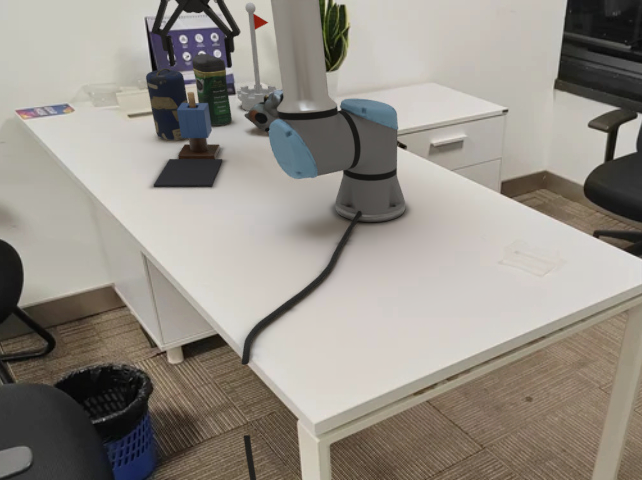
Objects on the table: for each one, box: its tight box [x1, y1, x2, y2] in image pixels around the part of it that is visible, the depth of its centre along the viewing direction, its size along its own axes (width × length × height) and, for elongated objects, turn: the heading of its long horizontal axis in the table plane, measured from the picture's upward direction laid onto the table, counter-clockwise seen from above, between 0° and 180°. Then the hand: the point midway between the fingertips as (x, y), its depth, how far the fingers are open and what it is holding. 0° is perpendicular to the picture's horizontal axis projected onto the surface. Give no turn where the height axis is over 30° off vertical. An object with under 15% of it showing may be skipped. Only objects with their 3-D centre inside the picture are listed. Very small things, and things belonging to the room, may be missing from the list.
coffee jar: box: [191, 53, 233, 126], centre depth 198 cm, size 10×8×19 cm
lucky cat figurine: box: [244, 88, 284, 133], centre depth 196 cm, size 15×12×14 cm
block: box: [177, 102, 213, 139], centre depth 174 cm, size 6×6×7 cm
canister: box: [145, 68, 189, 141], centre depth 185 cm, size 10×10×18 cm
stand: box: [177, 91, 221, 159], centre depth 175 cm, size 9×9×16 cm
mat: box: [153, 158, 223, 188], centre depth 167 cm, size 18×13×1 cm
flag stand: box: [236, 2, 280, 112], centre depth 210 cm, size 13×13×30 cm
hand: (201, 66), depth 168 cm, fingers open, 13 cm apart
